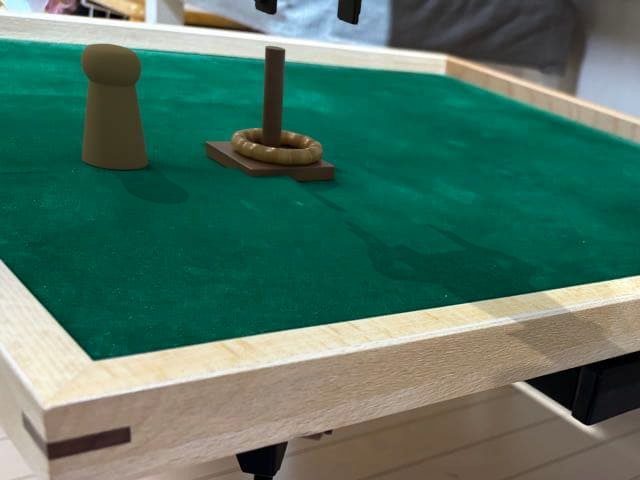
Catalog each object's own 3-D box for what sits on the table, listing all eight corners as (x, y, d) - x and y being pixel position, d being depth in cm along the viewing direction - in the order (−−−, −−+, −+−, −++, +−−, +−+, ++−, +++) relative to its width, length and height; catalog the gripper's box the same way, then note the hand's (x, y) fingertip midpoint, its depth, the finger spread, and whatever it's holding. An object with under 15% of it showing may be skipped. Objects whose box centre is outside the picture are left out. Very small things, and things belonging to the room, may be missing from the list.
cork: (154, 157, 92) (152, 46, 86) (140, 173, 86) (137, 56, 81) (91, 148, 90) (85, 35, 85) (73, 163, 85) (66, 44, 80)
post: (250, 183, 90) (254, 56, 84) (205, 155, 96) (206, 33, 90) (334, 179, 97) (343, 61, 91) (287, 153, 103) (293, 40, 97)
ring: (258, 167, 90) (259, 152, 90) (215, 141, 96) (215, 126, 95) (338, 165, 97) (340, 150, 96) (294, 140, 102) (294, 126, 101)
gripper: (374, -156, 92) (357, 18, 99) (217, -202, 80) (211, 0, 88) (418, -149, 87) (396, 33, 95) (258, -197, 76) (248, 15, 83)
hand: (307, 17), depth 91 cm, fingers open, 9 cm apart
